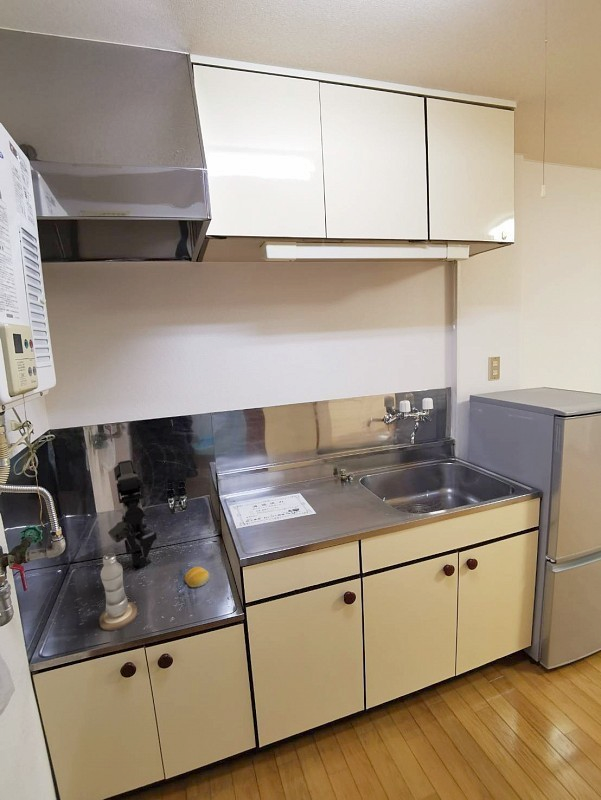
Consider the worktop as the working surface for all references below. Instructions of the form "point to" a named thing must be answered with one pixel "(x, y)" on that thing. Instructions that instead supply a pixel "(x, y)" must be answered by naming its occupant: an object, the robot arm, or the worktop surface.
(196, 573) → the bread roll
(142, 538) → the robot arm
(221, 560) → the worktop surface
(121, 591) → the plastic bottle
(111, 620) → the tan round plate
